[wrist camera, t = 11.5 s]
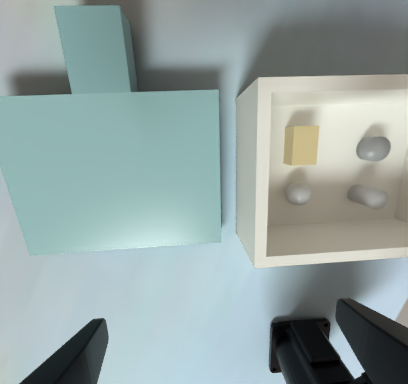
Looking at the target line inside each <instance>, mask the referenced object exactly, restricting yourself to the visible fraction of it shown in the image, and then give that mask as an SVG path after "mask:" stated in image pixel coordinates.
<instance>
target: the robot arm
mask: <svg viewBox="0 0 408 384" xmlns="http://www.w3.org/2000/svg"><path fill="white" fill-rule="evenodd" d="M335 317H336V321H337V323H338V325H339V327H340V329H341V331H342V332H343V334H344V336H345V338H346V339H347V341H348V343H349V345H350V346H351V348H352V350H353V352H354V354H355V355H356V357H357V359H358V360H359V362H360V364H361V365H362V367H363V369H364V370H365V372H364V373H362V374H361V376H360V377H358V378H356V379H354V377H353V376H352V374H351V373H350V372H349V370H348V369H347V367H346V366H345V364H344V363H343V362H342V360H341V359H340V356H339V354H338V353H337V351H336V350H335V349H334V347H333V346H332V344H331V343H330V341H329V333H330V322H329V321H328V320H327V319H326V318H322V319H311V320H300V321H288V322H277V323H273V324H272V325H271V330H270V353H269V368H270V371H271V372H272V373H279V372H282V374H283V376H284V379H285V381H286V384H408V328H407V327H405V326H403V325H401V324H399V323H397V322H395V321H393V320H391V319H390V318H388V317H386V316H384V315H382V314H380V313H378V312H376V311H374V310H372V309H370V308H368V307H366V306H364V305H362V304H360V303H358V302H356V301H354V300H352V299H350V298H340V299H338V301H337V306H336V314H335ZM107 344H108V330H107V325H106V320H105V319H104V318H99V319H93V320H91V321H90V322H89V323H88V324H87V325H86V326H84V327H83V328H82V329H81V330H80V331H79V332H78V333H77V334H75V335H74V336H73V337H72V338H71V339H70V340H69V341H67V342H66V343H65V344H64V345H63V346H62V347H61V348H59V349H58V350H57V351H56V352H55V353H54V354H53V355H51V356H50V357H49V358H48V359H47V360H46V361H45V362H43V363H42V364H41V365H40V366H39V367H38V368H37V369H35V370H34V371H33V372H32V373H31V374H30V375H29V376H27V377H26V378H25V379H24V380H23V381H22V382H21V383H20V384H97V382H98V378H99V374H100V371H101V367H102V363H103V359H104V356H105V352H106V348H107Z"/></svg>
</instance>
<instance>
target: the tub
mask: <svg viewBox="0 0 408 384" xmlns="http://www.w3.org/2000/svg"><path fill="white" fill-rule="evenodd" d="M236 233H237V235H238V237H239V239H240V241H241V243H242V245H243V247H244V249H245V251H246V253H247V255H248V257H249V259H250V261H251V262H252V264H253V266H254V268H264V267H278V266H292V265H305V264H319V263H333V262H347V261H361V260H375V259H388V258H402V257H408V74H390V75H343V76H297V77H258V78H257V79H256V80H255V81H254V82H253V83H252V84H251V85H250V86H249V87H248V88H247V89H245V90H244V91H243V92H242V93H241V94H240V95H239V96H238V97H237V98H236Z"/></svg>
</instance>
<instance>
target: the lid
mask: <svg viewBox="0 0 408 384" xmlns="http://www.w3.org/2000/svg"><path fill="white" fill-rule="evenodd" d="M54 10H55V15H56V20H57V25H58V30H59V34H60V39H61V44H62V49H63V54H64V58H65V63H66V68H67V73H68V78H69V82H70V87H71V92H72V94H60V95H29V96H0V167H1V170H2V173H3V176H4V179H5V182H6V185H7V188H8V191H9V194H10V197H11V200H12V203H13V206H14V209H15V212H16V215H17V218H18V221H19V224H20V227H21V230H22V233H23V236H24V239H25V242H26V245H27V248H28V251H29V254H30V256H32V255H46V254H60V253H74V252H89V251H103V250H117V249H131V248H145V247H159V246H173V245H187V244H201V243H215V242H221V197H220V136H219V89H216V90H185V91H154V92H138V86H137V78H136V69H135V61H134V53H133V45H132V36H131V28H130V23H129V21H128V19H127V18H126V16H125V14H124V12H123V11H122V9H121V7H120V5H90V6H54Z"/></svg>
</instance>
